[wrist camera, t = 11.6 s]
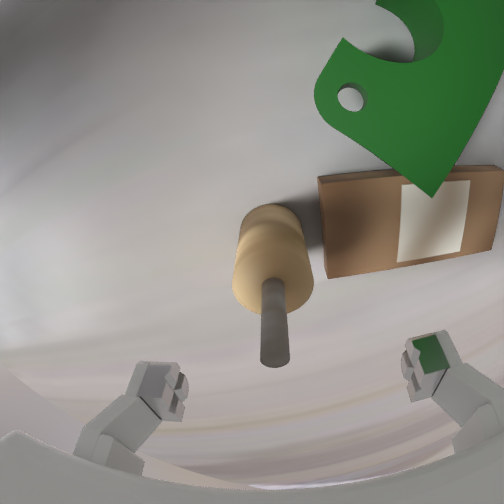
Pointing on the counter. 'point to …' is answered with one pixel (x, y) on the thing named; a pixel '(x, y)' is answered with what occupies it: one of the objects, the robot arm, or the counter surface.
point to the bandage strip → (406, 218)
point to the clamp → (420, 87)
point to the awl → (272, 275)
